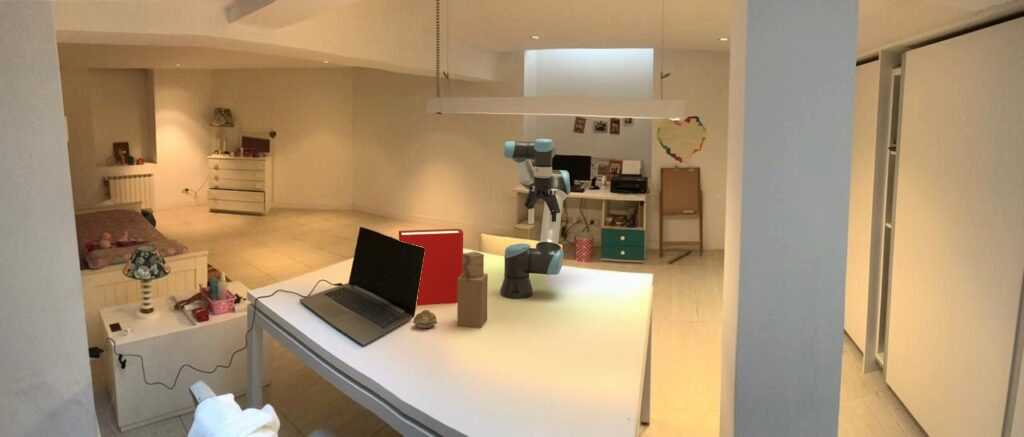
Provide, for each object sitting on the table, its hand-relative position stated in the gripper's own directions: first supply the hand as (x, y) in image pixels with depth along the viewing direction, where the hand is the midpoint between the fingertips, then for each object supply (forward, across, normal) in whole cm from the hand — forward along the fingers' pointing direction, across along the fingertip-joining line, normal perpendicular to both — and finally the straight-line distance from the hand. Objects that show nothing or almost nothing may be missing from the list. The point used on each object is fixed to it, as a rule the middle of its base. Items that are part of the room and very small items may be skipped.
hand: (541, 226), depth 264 cm
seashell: (+37, -10, -51) cm, 64 cm away
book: (+37, -35, -33) cm, 61 cm away
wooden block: (+37, -3, -33) cm, 50 cm away
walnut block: (+17, -3, -33) cm, 37 cm away
